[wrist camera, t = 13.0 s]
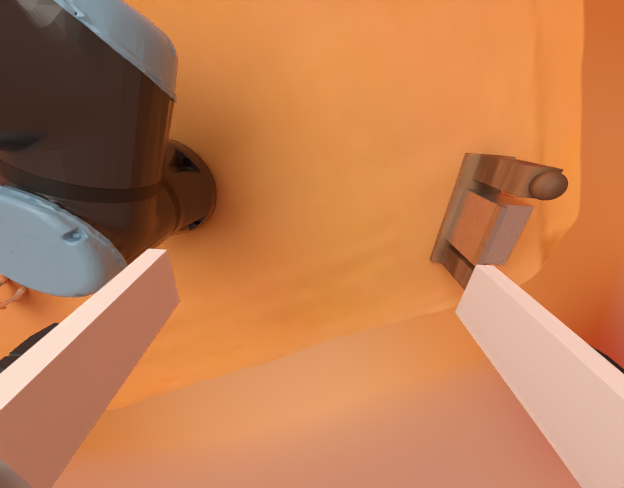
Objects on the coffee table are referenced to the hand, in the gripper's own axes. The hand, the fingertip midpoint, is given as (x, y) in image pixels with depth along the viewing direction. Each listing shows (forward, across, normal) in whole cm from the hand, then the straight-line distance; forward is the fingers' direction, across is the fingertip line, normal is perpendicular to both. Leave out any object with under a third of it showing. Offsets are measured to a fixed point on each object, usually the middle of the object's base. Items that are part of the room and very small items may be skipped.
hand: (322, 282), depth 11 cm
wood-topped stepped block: (+30, +27, -7) cm, 40 cm away
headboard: (+31, +27, -7) cm, 41 cm away
